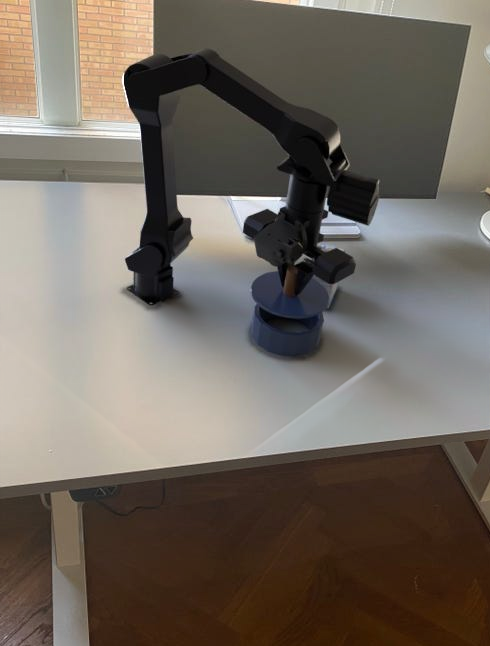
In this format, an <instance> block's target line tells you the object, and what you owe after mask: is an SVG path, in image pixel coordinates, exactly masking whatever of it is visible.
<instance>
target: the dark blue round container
mask: <svg viewBox="0 0 490 646" xmlns="http://www.w3.org/2000/svg"><path fill="white" fill-rule="evenodd" d="M278 317H279V318H282V317H281V316H278V315H275V314H272V313H270V312H268V311H266V310H264V309H263V308H261V307H260V306H259V305H258V304H257V303H255V305H254V307H253V313H252V321H251V328H250V329H251V338H252V339H253V340H254V342H255V343H256V345H257V346H259V347H260V348H262V349H263V350H265V351H266V352H268V353H271V354H274V355H277V356H280V357H301V356H305V355H308V354H310V353H311V352H313V351H315V350H316V349H317V347H318V345H319V343H320V342H321V337H322V332H323V327H324V323H325V318H324V311H323V312H322V313H320V314H318V315H316V316H313V317H309V318H300V319H295V318H292V319H293V320H295V321H299V322H301V323H303V324H304V325H306V326H308V327H309V330H305V331H304V330H303V331H298V332H295V331H286V330H285V331H284V330H282V329H278V328H275V327H273V326H271V325H270V324H268V323H267V322H265V321H266V320H268V319H272V318H278Z"/></svg>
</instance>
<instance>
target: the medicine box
mask: <svg viewBox="0 0 490 646" xmlns="http://www.w3.org/2000/svg"><path fill="white" fill-rule="evenodd" d="M321 246H322V247H324V248H326V249H327V250H329V251H330V250H332V249H334V248H338V249H340V250H341V251H343V252H345V253H346V250H345V249H343V248H339V247H336V246H332V245H329V244H322V245H321ZM312 278H313V279H315V280H316V281H318V282H319V283H321V284H322V285H323V286H324V287H325V289H326V290H327V292H328V294H329V304H328V306H327V308H326V309H330V306H331V303H332V302H333V300H334V297H335V294H336V292H337V290H338V287H339V284H340V283H339V282H340V281H339V282H337V283H335V284H328V283H326V282H325V281H323V280H321V279H320V278H318V277H316V276H315V275H314V276H313V277H312Z"/></svg>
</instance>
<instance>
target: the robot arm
mask: <svg viewBox="0 0 490 646" xmlns="http://www.w3.org/2000/svg"><path fill="white" fill-rule="evenodd" d="M122 86H123V90H124V94H125V99H126V102H127V106H128V108H129V110H130V111H131V113H132V114H133V116H134V118H135V119H136V120H137V123H138V126H139V137H140V149H141V161H142V171H143V182H144V183H143V184H144V193H145V195H144V196H145V205H146V206H145V207H146V213H145V216H144V220H143V223H142V226H141V229H140V234H139V245H138V247H137V248H136V249H134V250H133V251H132V252H130V253H129V255H128V256H126V257H125V258H124V262H125V264H126V267H127V270H128V271H129V272H133V274H132V275H133V279H132V280H133V283H132V284H131V285H129V286H126V288H125V289H126V291H128V292H129V293H131V294H132V295H134V296H135V297H137V298H138V299H140V300H141V301H143V302H144V303H146V305H149V306H154V305H156V304H158V303H162V302H165V301H167V300H169V299H171V298H173V297H174V296H175V295H178V294H179V291H178V290H177V289H176V288H174V276H173V275H174V267H173V266H171V265H172V263H173V262H174V261H175V260H176V259H177V258H179V256H180V255H181V254H182V253H183V252H185V250H187V248H188V247H189V245H190V242H191V241H193V239H194V236H193V234H192V218H191V217H184V216H183V215H182V213H181V211H180V210H179V207H178V193H177V176H176V175H177V174H176V162H175V160H176V159H175V144H174V128H173V123H174V121H173V120H174V117H175V115H176V111H177V108H178V104H179V101H180V97H181V90H183V89H186V88H190V87H193V86H200V87H202V88H203V89H204V90H206V91H208V92H209V93H211V94H213V95H214V96H215V97H217V98H218V99H219V100H221V101H223V102H224V103H225V104H227V105H229V106H230V107H231V108H233V109H235V110H236V111H238V112H239V113H241V114H242V115H244V116H245V117H247V118H248V119H249V120H251V121H253V122H254V123H256V124H257V125H259V126H260V127H261V128H263V129H265V130H266V131H267V132H269V134H271V135H272V136H273V137H274V139H275V140H276V143H277V144H278V145H279V147H280V148H281V150H282V151H283V152H284V153H286V154H287V155H288V157H285V158H284V159H283V160H282V161H281V162H279V164H278V165H277V166H276V169H277V171H278V172H282V173H285V174H287V175H289V181H288V188H287V193H286V194H287V195H286V201H285V206H282V207H280V208H279V211H278V212H277V213H276V212H274V211H272V210H271V209H269V208H266V209H263V210H260V211H257V212H255V213H253V214H250V215H247V216H246V217H245V219H244V220H243V224H242V225H243V226H242V234H244V235H245V236H248V237H249V238H251V239H252V240H253V242H254V247H255V252H256V257H258V258H259V259H262V260H264V261H265V262H267V263H269V265H270V266H272V267H277V271H278V273H279V277H280V281H281V285H282V287H283V288H284V283H285V277H286V271H287V267H288V266H291V265H294V267H295V268H296V269H297V270H298V272H297V278H296V283H295V295H299V294H300V293H301V292H302V291H303V289H304V288H305V287H306V285H307V284H308V283H309V281H310V280H311V278H312V277H313V276H314V275H315V276H316V277H318V278H320V279H321V280H323V281H325V282H326V283H328V284H335V283H337V282H341V281H342V280H344V279H346V278H348V277H350V276H352V275H353V274H354V273H355V271H356V266H357V263H356V259H355V258H354V256H352V255H351V254H349V253H346V251H345V252H343V251H341V250H340V249H341V248H340V249H338V248H339V247H336V248H334V249H332V250H330V251H329V250H327V249H326V248H324V247H322V246H323V245H318V244H320V243H322V242H323V241H324V237H325V234H323V233H321V227H322V223H323V220H325V219H327V218H328V216H329V213H331V215H333V216H335V217H339V218H342V219H346V220H348V221H352V222H355V223H358V224H360V225H364V226H368V227H369V226H370V225H371V223H372V221H373V219H374V216H375V213H376V211H377V207H378V205H379V201H380V195H379V193H380V187H379V186H380V179H379V178H377V177H374V176H367V175H362V174H360V173H356V172H353V171H350V170H348V168H349V167H350V164H351V163H350V161H349V158H348V157H347V154H346V152H345V150H344V147H343V145H342V143H341V133H340V130H339V129H340V128H339V126H338V124H337V123H336V122H335V121H334V120H333V119H332V118H330V117H328V116H327V115H324V114H322V113H320V112H317V111H315V110H313V109H310V108H308V107H303V106H299V105H294V104H292V103H290V102H288V101H286V100H284V99H283V98H281V97H280V96H279V95H277V94H275V93H274V92H272V91H271V90H270V89H268V88H267V87H265V86H263V84H261V83H259V82H258V81H256V80H254V79H253V78H251V76H249V75H247V74H246V73H244V72H243V71H242V70H240V69H238V68H236V67H235V66H233V65H232V64H231V63H230V62H228V61H227V60H225V59H223V58H222V57H221V56H220V55H219V54H218V52H217V51H215V50H214V49H212V48H211V49H210V48H202V49H199V50H198V51H194V52H188V53H184V54H179V55H175V56H172V57H169V56H168V55H165V54H163V53H155V54H152V55H150V56H147V57H145V58H144V59H141V60H139V61H136V62H135V63H133V64H130V65H129V66H128V67H127V68H125V70H124V72H123V74H122ZM328 160H330V161H331V163H330V164H329V163H328ZM325 205H327V206H328V208H327V209H328V210H326V209H325ZM301 257H303V259H302V261H300V262H298V263H296V262H297V261H298V260H299V259H301ZM295 263H296V264H295Z"/></svg>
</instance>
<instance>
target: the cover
mask: <svg viewBox="0 0 490 646" xmlns="http://www.w3.org/2000/svg"><path fill="white" fill-rule="evenodd" d="M294 265H295V264H294ZM294 265H291V266H288V267H287V271H286V277H285V283H284V288H283V287H282V285H281V281H280V277H279V273H278V270H273V271H269V272H266V273H262V274H261V275H258V276H257V277H256V278H255V279H254V280H253V282H252V283H251V286H250V295H251V298H252V299H253V301H254V302H255V304H258V305H259V306H260V307H261V308H263V309H264V310H266V311H268V312H270V313H272V314H275V315H278V316H281V317H280V318H287V319H288V318H289V319H293V318H295V319H294V320H296V319H300V318H309V317H313V316H316V315H318V314H320V313H322V312H323V313H324V311H326V309H327V306H328V304H329V294H328V292H327V290H326V289H325V287H324V286H323V285H322V284H321V283H319V282H318V281H316V280H315V279H313V278H311V280H310V281H309V283H308V284H307V285H306V287H305V288H304V289H303V291H302V292H301V293H300V294H299V295H295V283H296V278H297V272H298V270H297V269H296V268H295V267H294Z"/></svg>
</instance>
